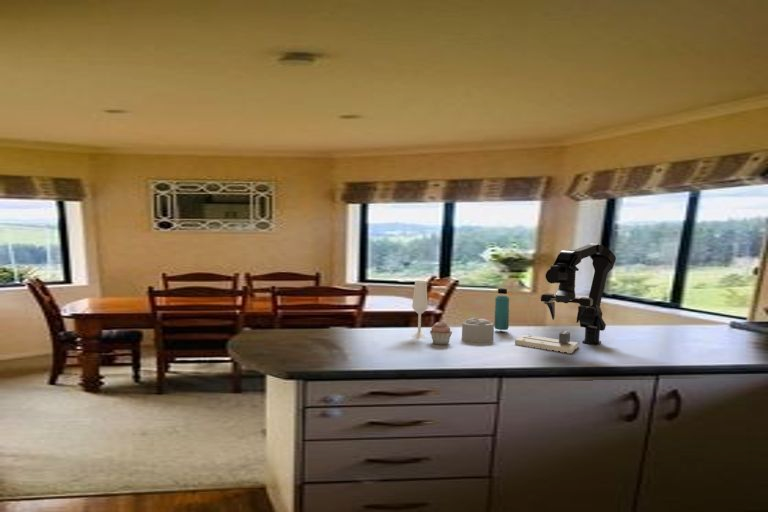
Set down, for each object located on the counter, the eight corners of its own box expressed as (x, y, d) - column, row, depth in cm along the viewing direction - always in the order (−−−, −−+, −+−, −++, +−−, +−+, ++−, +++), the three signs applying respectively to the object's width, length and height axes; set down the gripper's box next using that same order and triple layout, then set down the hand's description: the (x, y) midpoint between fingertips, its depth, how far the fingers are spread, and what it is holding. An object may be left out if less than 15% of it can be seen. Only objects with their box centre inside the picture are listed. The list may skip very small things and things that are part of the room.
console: (524, 338, 204) (524, 334, 204) (577, 347, 192) (578, 342, 192) (515, 344, 194) (515, 339, 194) (571, 353, 182) (571, 348, 182)
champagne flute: (427, 338, 201) (429, 282, 200) (411, 337, 201) (413, 282, 200) (426, 334, 208) (427, 280, 206) (411, 334, 208) (412, 280, 206)
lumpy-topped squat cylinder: (496, 341, 198) (496, 321, 198) (468, 343, 195) (468, 322, 194) (483, 335, 208) (484, 316, 208) (457, 337, 205) (457, 317, 204)
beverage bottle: (508, 333, 213) (510, 289, 212) (493, 332, 215) (495, 289, 213) (508, 330, 220) (509, 288, 218) (493, 329, 221) (495, 287, 220)
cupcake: (427, 340, 198) (428, 316, 197) (449, 340, 198) (450, 317, 198) (431, 346, 188) (432, 321, 188) (454, 346, 189) (455, 321, 188)
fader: (561, 340, 192) (562, 330, 191) (569, 341, 190) (570, 331, 190) (558, 343, 188) (559, 333, 187) (566, 344, 186) (567, 334, 186)
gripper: (537, 281, 186) (535, 321, 187) (588, 286, 175) (585, 327, 176) (545, 279, 195) (543, 316, 196) (594, 283, 184) (591, 323, 186)
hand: (565, 321), depth 188 cm, fingers open, 9 cm apart
